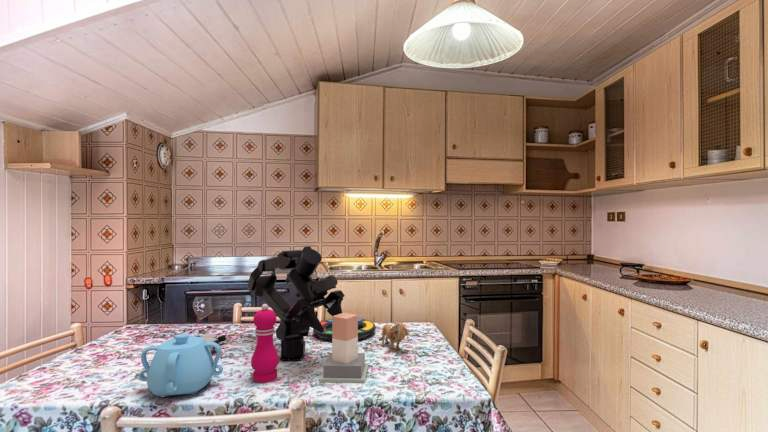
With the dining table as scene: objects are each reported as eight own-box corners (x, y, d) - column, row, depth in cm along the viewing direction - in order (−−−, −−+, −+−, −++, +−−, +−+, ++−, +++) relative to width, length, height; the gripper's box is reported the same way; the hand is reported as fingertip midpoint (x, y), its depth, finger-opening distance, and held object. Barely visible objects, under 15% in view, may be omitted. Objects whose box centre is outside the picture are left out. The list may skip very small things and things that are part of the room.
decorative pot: (228, 386, 104) (228, 333, 104) (162, 409, 92) (162, 349, 92) (198, 371, 115) (198, 322, 115) (135, 389, 102) (135, 335, 102)
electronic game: (388, 333, 151) (388, 320, 151) (342, 348, 134) (342, 334, 134) (346, 322, 166) (346, 310, 166) (300, 335, 149) (300, 322, 149)
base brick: (318, 382, 107) (318, 366, 106) (327, 365, 119) (327, 351, 118) (364, 383, 106) (364, 367, 106) (368, 365, 118) (368, 352, 118)
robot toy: (194, 345, 140) (173, 357, 125) (195, 332, 140) (173, 342, 125) (230, 345, 140) (213, 357, 125) (231, 331, 140) (214, 342, 125)
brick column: (332, 360, 111) (332, 316, 111) (343, 354, 116) (343, 312, 116) (346, 363, 109) (346, 318, 109) (357, 358, 113) (357, 314, 113)
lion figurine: (411, 351, 130) (411, 323, 130) (398, 355, 127) (398, 326, 127) (384, 340, 142) (384, 314, 142) (371, 343, 139) (371, 317, 139)
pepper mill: (263, 385, 104) (263, 308, 104) (245, 379, 108) (244, 304, 108) (284, 376, 110) (284, 302, 110) (266, 371, 114) (266, 299, 114)
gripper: (296, 271, 109) (327, 317, 103) (339, 263, 125) (369, 303, 119) (275, 297, 114) (304, 343, 108) (320, 286, 129) (347, 326, 124)
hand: (333, 327), depth 114 cm, fingers open, 9 cm apart
